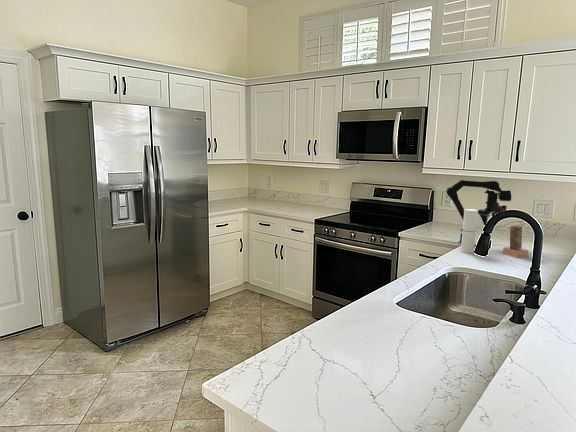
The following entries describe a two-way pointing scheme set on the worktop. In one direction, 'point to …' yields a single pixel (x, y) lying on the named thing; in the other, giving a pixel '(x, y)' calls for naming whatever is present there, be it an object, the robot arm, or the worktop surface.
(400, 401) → the worktop surface
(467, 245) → the cylindrical container
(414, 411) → the worktop surface
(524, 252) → the terracotta riser
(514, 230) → the walnut block
